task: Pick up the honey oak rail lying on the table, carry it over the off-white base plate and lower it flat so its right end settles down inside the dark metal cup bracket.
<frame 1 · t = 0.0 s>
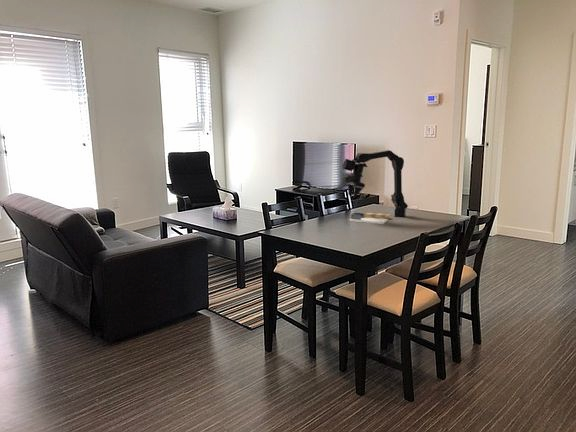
hand: (351, 196, 298), 15 cm above the table, tool pointing down, fingers open, 9 cm apart
oak rail: (375, 218, 306), on the table
bracket plate: (368, 221, 295), on the table
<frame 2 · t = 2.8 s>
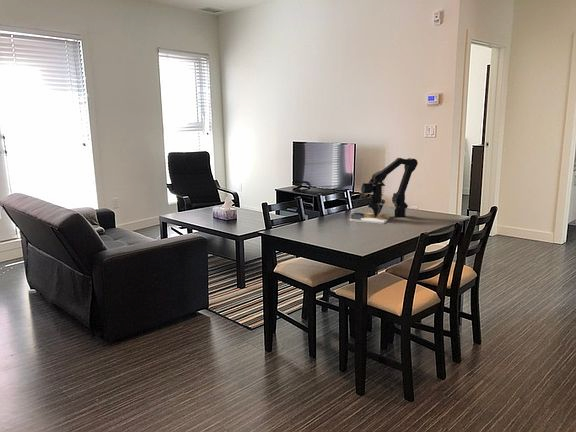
hand: (376, 216, 305), 1 cm above the table, tool pointing down, fingers open, 4 cm apart
oak rail: (375, 218, 306), on the table, touching gripper
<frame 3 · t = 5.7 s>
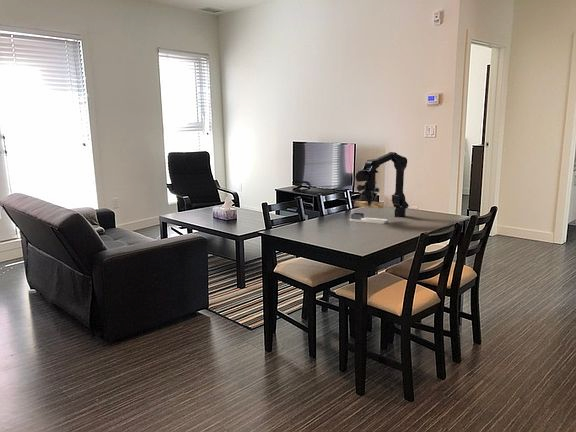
hand: (370, 205, 293), 11 cm above the table, tool pointing down, fingers closed on oak rail, 4 cm apart
oak rail: (368, 206, 294), point 9 cm above the table, touching gripper
when the fingers open (3 cm above the table, at t = 8.0 s): oak rail stays where it is, resting on bracket plate.
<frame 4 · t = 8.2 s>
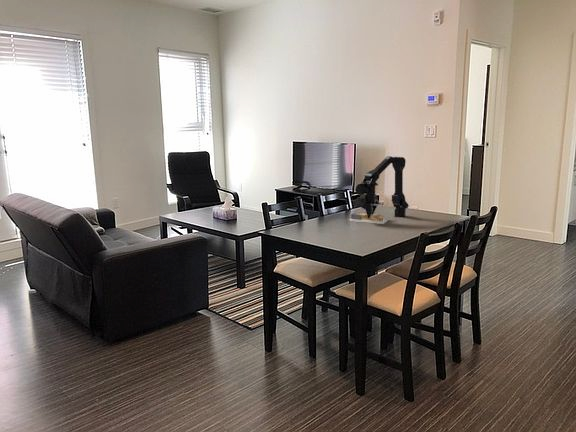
hand: (370, 217, 294), 3 cm above the table, tool pointing down, fingers open, 5 cm apart
oak rail: (368, 219, 295), point 1 cm above the table, touching bracket plate
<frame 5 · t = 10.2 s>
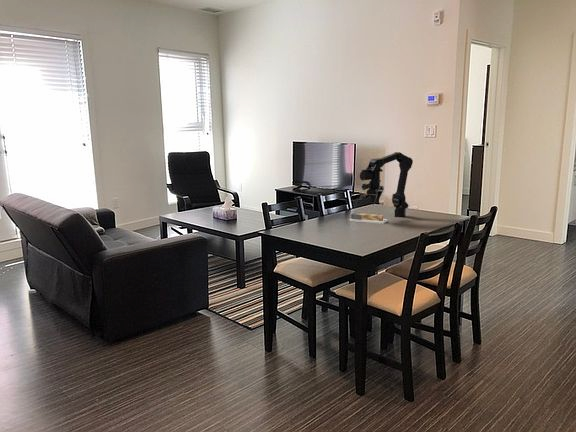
hand: (375, 203, 297), 11 cm above the table, tool pointing down, fingers open, 9 cm apart
nothing on the table moved.
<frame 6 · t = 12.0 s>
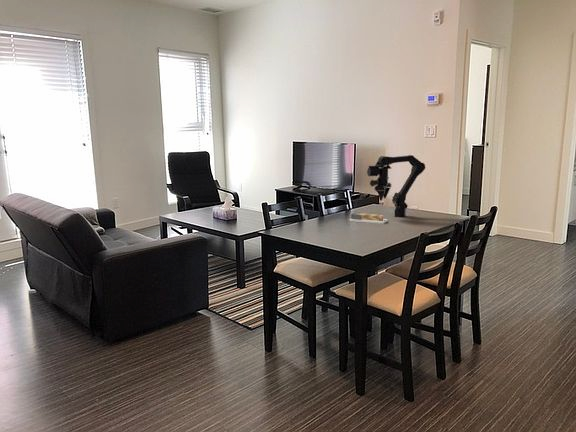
hand: (382, 199, 304), 12 cm above the table, tool pointing down, fingers open, 9 cm apart
nothing on the table moved.
at the end: oak rail 0.4 cm off-centre on the bracket plate, point 1.2 cm above the bracket plate's base; oak rail tilted 0°; the gripper is holding nothing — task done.
